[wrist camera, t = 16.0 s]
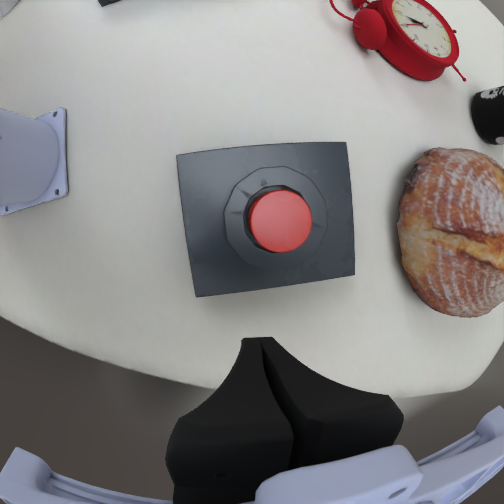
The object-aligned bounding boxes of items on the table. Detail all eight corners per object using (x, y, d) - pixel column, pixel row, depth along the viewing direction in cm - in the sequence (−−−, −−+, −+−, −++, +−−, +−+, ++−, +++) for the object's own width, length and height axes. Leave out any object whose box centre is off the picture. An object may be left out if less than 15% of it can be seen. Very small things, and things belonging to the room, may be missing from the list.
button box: (198, 287, 21) (193, 307, 18) (181, 158, 19) (170, 150, 15) (344, 267, 22) (365, 282, 18) (335, 146, 20) (357, 137, 16)
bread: (475, 304, 27) (525, 338, 17) (361, 290, 24) (423, 349, 14) (505, 184, 23) (563, 195, 13) (400, 117, 20) (480, 100, 10)
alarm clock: (474, 93, 16) (366, 8, 11) (430, 100, 22) (320, 39, 17) (458, 21, 14) (356, -57, 9) (422, 33, 20) (321, -28, 15)
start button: (251, 250, 18) (254, 256, 16) (244, 193, 17) (247, 193, 15) (306, 243, 18) (314, 248, 16) (301, 188, 17) (309, 187, 15)
